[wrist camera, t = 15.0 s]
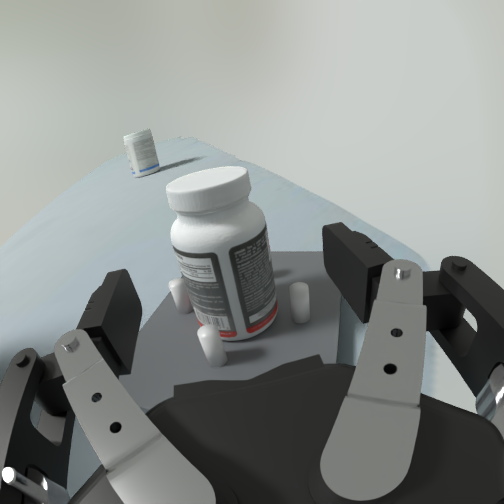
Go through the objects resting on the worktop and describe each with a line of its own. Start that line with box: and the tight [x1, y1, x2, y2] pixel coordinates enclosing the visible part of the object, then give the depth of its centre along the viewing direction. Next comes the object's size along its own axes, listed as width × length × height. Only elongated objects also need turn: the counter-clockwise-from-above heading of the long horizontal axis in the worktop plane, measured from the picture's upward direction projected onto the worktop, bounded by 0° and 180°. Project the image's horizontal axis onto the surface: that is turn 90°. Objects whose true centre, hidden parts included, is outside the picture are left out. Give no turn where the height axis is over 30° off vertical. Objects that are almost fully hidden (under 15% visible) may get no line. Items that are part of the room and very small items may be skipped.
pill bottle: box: [166, 166, 278, 341], centre depth 18 cm, size 6×6×10 cm
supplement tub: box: [123, 129, 160, 178], centre depth 87 cm, size 10×10×15 cm
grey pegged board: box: [119, 252, 341, 414], centre depth 20 cm, size 14×18×4 cm
